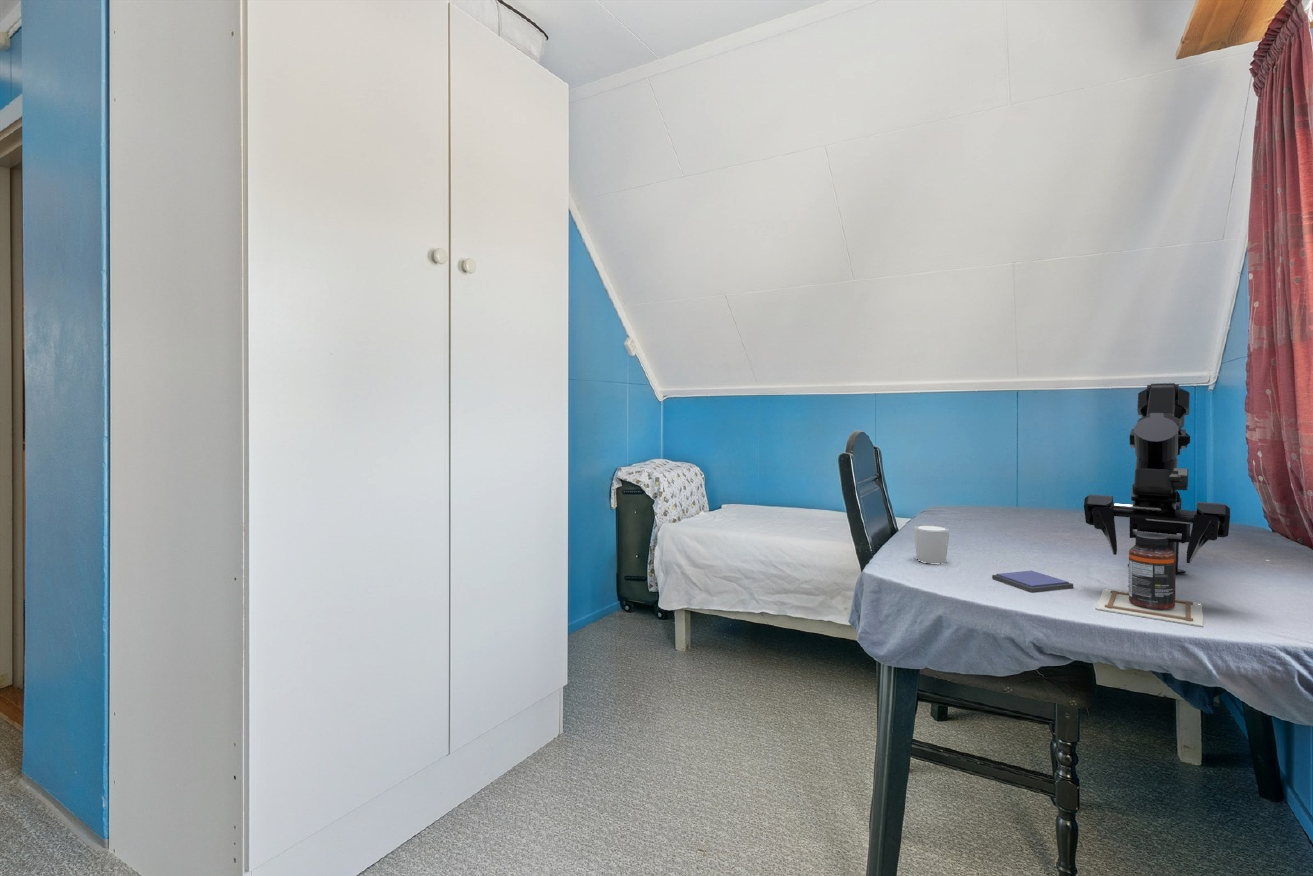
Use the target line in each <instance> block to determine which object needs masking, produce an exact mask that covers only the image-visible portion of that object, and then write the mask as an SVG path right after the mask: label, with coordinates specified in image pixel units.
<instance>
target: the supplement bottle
mask: <svg viewBox="0 0 1313 876" xmlns="http://www.w3.org/2000/svg"><path fill="white" fill-rule="evenodd" d="M1160 534H1161V533H1159V534H1152V532H1149V533H1140V534H1137V535H1136V538H1135V543H1136V542H1137V543H1136V544H1134V545H1133V546H1132V547H1131V548H1130V549H1129V551H1128V564H1129V567H1128V593H1129V601H1130V602H1131V603H1133V604H1135V605H1137V606H1140V607H1144V608H1149V609H1160V610H1165V609H1171V608H1173V607H1174V606H1175V599H1176V581H1177V580H1176V557H1175V553H1174V552H1173V551H1172V550H1170V549H1169V548H1168V546H1167V545H1168V537H1167V536H1165V535H1160Z"/></svg>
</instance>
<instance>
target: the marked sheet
mask: <svg viewBox="0 0 1313 876" xmlns="http://www.w3.org/2000/svg"><path fill="white" fill-rule="evenodd" d="M1198 604H1202V605H1198ZM1094 608H1095V610H1098V611H1104V612H1110V613H1117V614H1120V615H1122V614H1123V615H1129V616H1133V617H1134V616H1135V617H1141V618H1147V619H1151V620H1152V619H1153V620H1159V621H1164V622H1170V623H1177V624H1182V625H1189V626H1195V627H1201V628H1204V618H1203V617H1204V616H1203V615H1204V614H1203V603H1201V602H1196V601H1191V600H1190V601H1188V600H1181V599H1176V598H1175V606H1174V607H1173V608H1171V609H1165V610H1160V609H1149V608H1144V607H1140V606H1137V605H1135V604H1133V603H1131V602H1130V601H1129V591H1128V592H1126V591H1119V590H1113V589H1112V590H1111V589H1108V588H1107V589H1105V588H1103V590H1102V592H1101V595H1100V596H1099V598H1098V602H1097V604H1096V606H1095V607H1094Z"/></svg>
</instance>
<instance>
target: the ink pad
mask: <svg viewBox="0 0 1313 876" xmlns="http://www.w3.org/2000/svg"><path fill="white" fill-rule="evenodd" d="M991 579H993V580H995V581H998V582H1000V583H1004V584H1005V585H1010V586H1013V587H1015V588H1018V589H1021V590H1024V591H1027V592H1029V593H1038V592H1039V593H1040V592H1048V591H1057V590H1068V589H1074V583H1071V582H1069V581H1067V580H1063V579H1060V578H1057V577H1054V576H1050V575H1049V574H1044V573H1041V572H1038V571H1034V570H1025V571H1014V572H1013V571H1012V572H1001V573H996V574H992V575H991Z"/></svg>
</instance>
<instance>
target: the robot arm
mask: <svg viewBox="0 0 1313 876" xmlns="http://www.w3.org/2000/svg"><path fill="white" fill-rule="evenodd" d="M1179 385H1180V384H1177V383H1175V382H1169V383H1167V382H1165V383H1164V382H1163V383H1158V382H1157V383H1150V384H1147V385H1146V389H1143V390H1141V391H1140V392H1138V393H1137V404H1136V405H1137V415H1138V416H1141V417H1140V418H1138V419H1137V422H1136V424H1135V425H1134V427H1133V428H1132V429H1131V430H1130V433H1129V446H1130V448H1131V449H1134V454H1135V457H1136V460H1135V470H1134V481H1133V484H1132V485H1131V493H1130V496H1131V497H1130V498H1131V501H1132V503H1131V504H1123V503H1114V496H1113V495H1105V494H1104V495H1101V494H1092V493H1091V494H1088V495H1087V496H1085V497H1084V499H1083V500H1084V502H1083V509H1084V518H1085V519H1084V520H1085V524H1088V525H1089V526H1093V527H1094V528H1095V529H1096V530H1101V531H1102V533H1103V534H1104V536H1105V537H1106V538H1105V539H1106V540H1107V541H1108V544H1109V547H1110V549H1111V552H1112V554H1113V555H1114V556H1117V553H1118V542H1117V533H1116V522H1115V517H1120V518H1121V517H1122V518H1129V539H1133V538H1134V539H1136V535H1137V534H1140V533H1152V534H1160V535H1165V536H1167V537H1168V545H1167V546H1168V548H1169V549H1170V550H1172V551H1173V552H1174V553H1175V557H1176V574H1178V575H1179V574H1186V572H1187V571H1186V570H1184V569H1180V568H1179V551H1180V550H1179V546H1180V545H1179V544H1186V543H1188V544H1187V549H1186V564H1191V563H1192V561H1193V560H1194V558H1195V557H1196V555H1197V554H1198V552H1199V550H1201V548H1203V546H1204V545H1206V544H1207V542H1209V541H1216V540H1218V538H1226V537H1229V532H1230V523H1231V521H1230V520H1231V508H1230V506H1229V505H1227V504H1226V503H1221V502H1218V503H1217V502H1203V501H1196V510H1188V509H1182V498H1181V494H1180V493H1179V491H1186V492H1187V491H1188V490H1189V488H1188V487H1189V468H1182V467H1181V468H1178V467H1179V465H1178V464H1179V462H1178V461H1179V460H1178V456H1180V455H1181V450H1186V448H1187V447H1188V445H1189V444H1190V443H1191V435H1190V434H1189V433H1188V432H1187V429H1183V428H1184V427H1185V421H1186V420H1185V418H1186V417H1185V416H1190V400H1191V399H1190V397H1191V394H1190V391H1187V390H1185V389H1183V388H1181V387H1180V386H1179ZM1191 525H1192V526H1191ZM1136 543H1137V542H1136V541H1135V544H1136ZM1135 544H1134V545H1135ZM1127 567H1128V568H1129V563H1127Z"/></svg>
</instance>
